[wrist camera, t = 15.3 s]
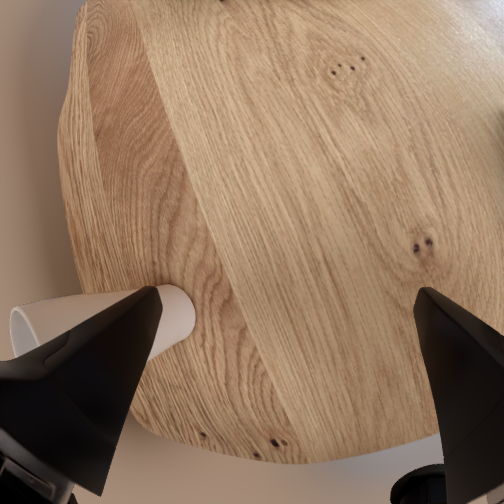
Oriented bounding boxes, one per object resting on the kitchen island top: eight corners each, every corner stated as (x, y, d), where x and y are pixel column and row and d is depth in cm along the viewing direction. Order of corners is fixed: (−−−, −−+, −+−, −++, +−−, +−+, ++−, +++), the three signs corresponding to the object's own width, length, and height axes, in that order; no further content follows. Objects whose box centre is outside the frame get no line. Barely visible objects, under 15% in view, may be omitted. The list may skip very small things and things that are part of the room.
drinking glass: (142, 322, 27) (13, 365, 13) (157, 263, 26) (6, 283, 12) (193, 359, 25) (62, 435, 11) (215, 297, 23) (53, 355, 9)
